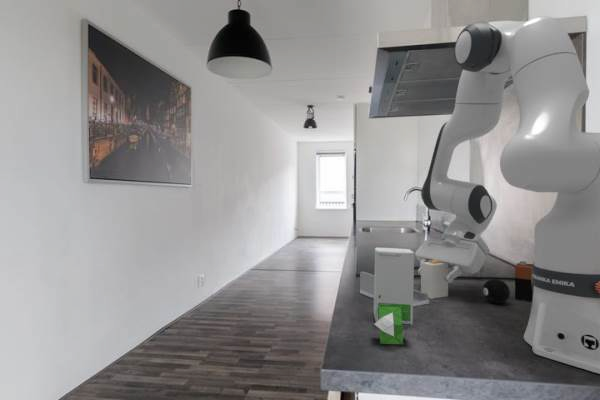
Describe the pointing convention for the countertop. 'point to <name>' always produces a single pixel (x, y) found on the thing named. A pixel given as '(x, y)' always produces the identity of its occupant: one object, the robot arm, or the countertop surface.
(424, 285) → the block
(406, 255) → the skincare box
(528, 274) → the battery
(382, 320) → the geometric puzzle
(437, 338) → the countertop surface
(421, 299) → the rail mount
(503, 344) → the countertop surface
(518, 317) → the countertop surface
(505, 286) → the billiard ball
